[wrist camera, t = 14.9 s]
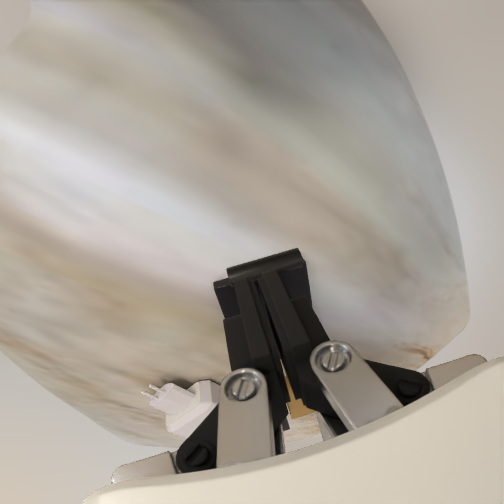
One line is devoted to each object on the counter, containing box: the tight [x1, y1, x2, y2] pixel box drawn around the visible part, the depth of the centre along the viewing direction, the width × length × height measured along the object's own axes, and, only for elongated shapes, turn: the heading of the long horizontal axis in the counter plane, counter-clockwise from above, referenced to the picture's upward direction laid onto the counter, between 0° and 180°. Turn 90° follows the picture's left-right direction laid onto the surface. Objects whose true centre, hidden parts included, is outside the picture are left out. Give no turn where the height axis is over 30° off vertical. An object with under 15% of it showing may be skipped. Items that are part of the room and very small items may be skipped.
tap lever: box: [227, 248, 316, 419], centre depth 21 cm, size 13×5×2 cm, turn 13°
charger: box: [142, 380, 220, 439], centre depth 34 cm, size 5×9×15 cm
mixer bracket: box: [213, 258, 312, 431], centre depth 26 cm, size 12×9×13 cm
